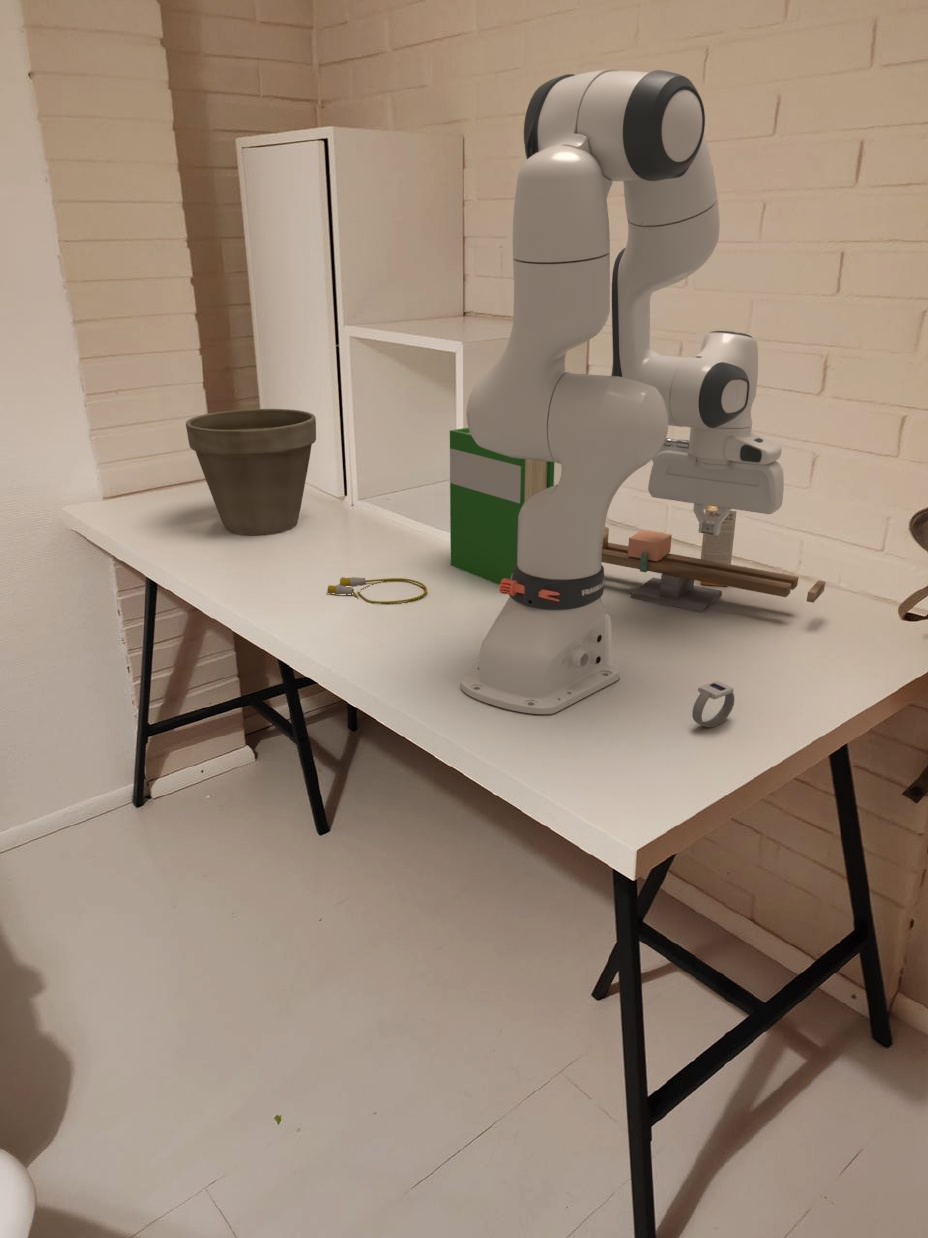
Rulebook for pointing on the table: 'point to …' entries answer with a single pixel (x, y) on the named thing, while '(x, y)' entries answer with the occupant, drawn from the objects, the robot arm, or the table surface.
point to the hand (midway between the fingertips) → (709, 533)
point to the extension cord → (360, 581)
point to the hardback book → (489, 505)
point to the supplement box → (719, 539)
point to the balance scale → (698, 578)
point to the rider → (649, 545)
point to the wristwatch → (714, 692)
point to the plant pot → (255, 465)
